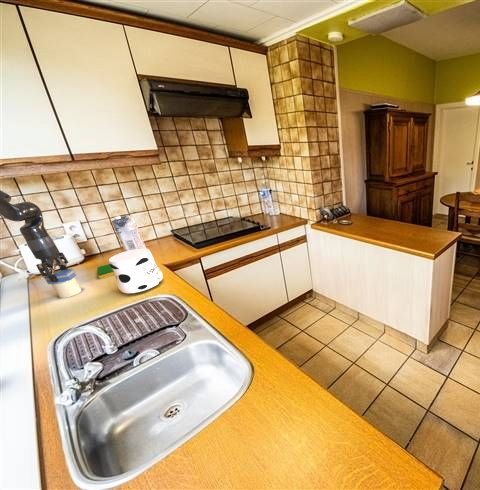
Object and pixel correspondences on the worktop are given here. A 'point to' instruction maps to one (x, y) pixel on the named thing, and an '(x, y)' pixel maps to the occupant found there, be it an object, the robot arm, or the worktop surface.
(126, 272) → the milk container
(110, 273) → the dish sponge
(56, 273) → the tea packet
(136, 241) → the juice carton
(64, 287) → the yogurt pot
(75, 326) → the worktop surface
